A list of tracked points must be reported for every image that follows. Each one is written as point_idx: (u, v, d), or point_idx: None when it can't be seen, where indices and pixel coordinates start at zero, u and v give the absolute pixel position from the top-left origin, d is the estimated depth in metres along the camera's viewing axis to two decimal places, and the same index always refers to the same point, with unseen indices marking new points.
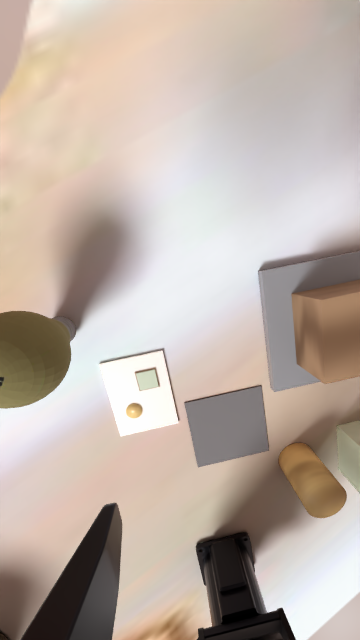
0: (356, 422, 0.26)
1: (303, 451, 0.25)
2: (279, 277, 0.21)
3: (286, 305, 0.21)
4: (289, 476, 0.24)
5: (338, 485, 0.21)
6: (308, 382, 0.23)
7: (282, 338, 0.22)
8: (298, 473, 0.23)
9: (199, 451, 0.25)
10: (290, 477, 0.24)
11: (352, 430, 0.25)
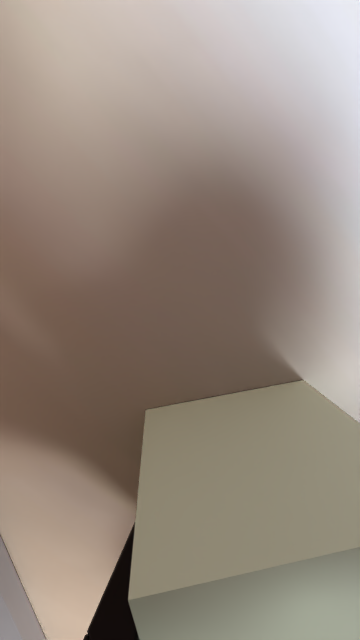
0: None
1: None
2: None
3: None
4: None
5: None
6: None
7: None
8: None
9: None
10: None
11: None
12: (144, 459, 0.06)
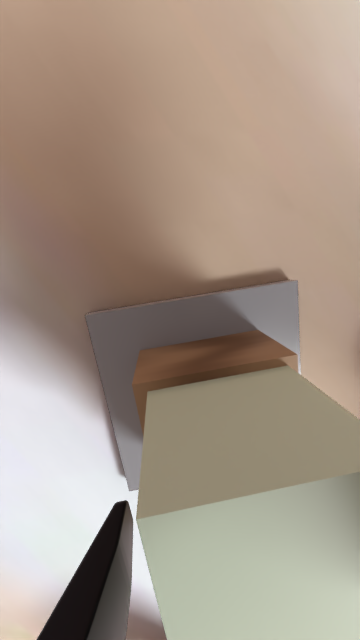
0: None
1: None
2: (137, 469, 0.15)
3: None
4: None
5: None
6: None
7: None
8: None
9: None
10: None
11: None
12: (147, 428, 0.07)
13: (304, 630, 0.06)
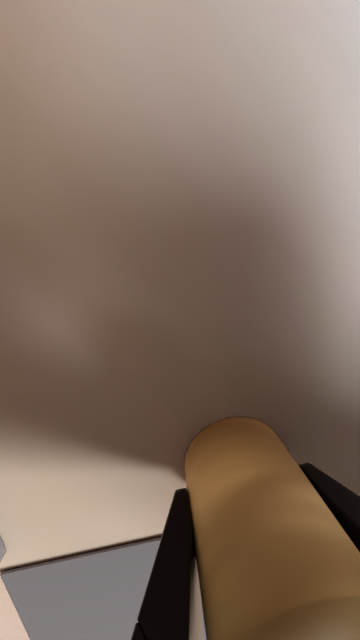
0: None
1: (188, 493, 0.08)
2: None
3: None
4: None
5: None
6: None
7: None
8: None
9: None
10: None
11: None
12: None
13: None
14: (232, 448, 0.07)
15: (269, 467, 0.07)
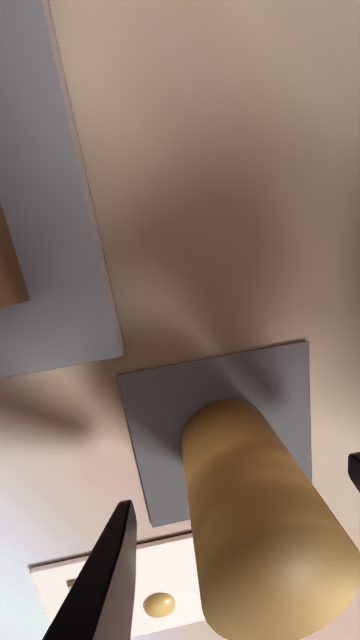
0: None
1: (183, 464, 0.09)
2: None
3: None
4: None
5: (218, 563, 0.05)
6: (92, 256, 0.08)
7: None
8: None
9: None
10: None
11: None
12: None
13: None
14: (222, 423, 0.09)
15: (252, 437, 0.08)
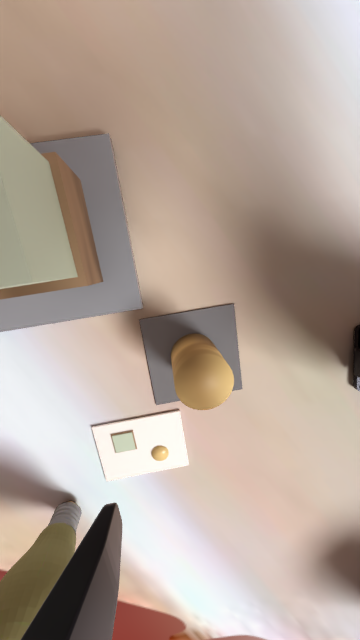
0: None
1: (171, 361, 0.19)
2: None
3: (24, 301, 0.17)
4: None
5: (180, 369, 0.15)
6: (130, 262, 0.18)
7: (68, 303, 0.18)
8: None
9: None
10: None
11: None
12: None
13: None
14: (189, 339, 0.19)
15: (201, 341, 0.18)
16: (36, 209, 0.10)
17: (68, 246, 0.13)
